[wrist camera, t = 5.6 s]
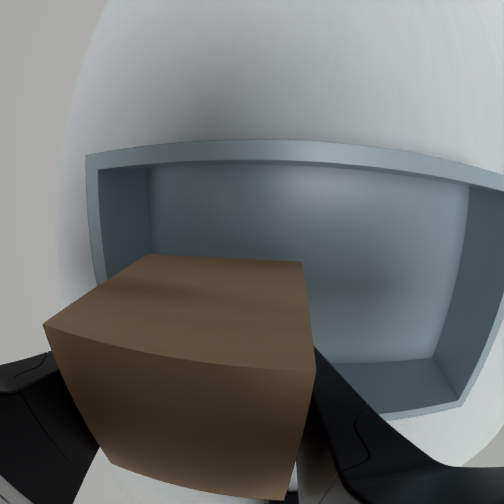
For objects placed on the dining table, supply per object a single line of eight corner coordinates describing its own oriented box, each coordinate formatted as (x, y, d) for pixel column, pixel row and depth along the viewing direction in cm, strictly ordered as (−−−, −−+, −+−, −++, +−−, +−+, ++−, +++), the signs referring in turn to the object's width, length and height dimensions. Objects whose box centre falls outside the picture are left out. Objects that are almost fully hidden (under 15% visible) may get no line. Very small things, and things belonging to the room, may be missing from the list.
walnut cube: (289, 385, 10) (284, 500, 5) (165, 371, 10) (111, 463, 5) (301, 261, 8) (316, 370, 3) (148, 253, 9) (42, 324, 4)
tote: (432, 359, 14) (461, 406, 9) (161, 350, 16) (128, 398, 11) (471, 176, 11) (528, 183, 6) (143, 157, 13) (85, 155, 8)
